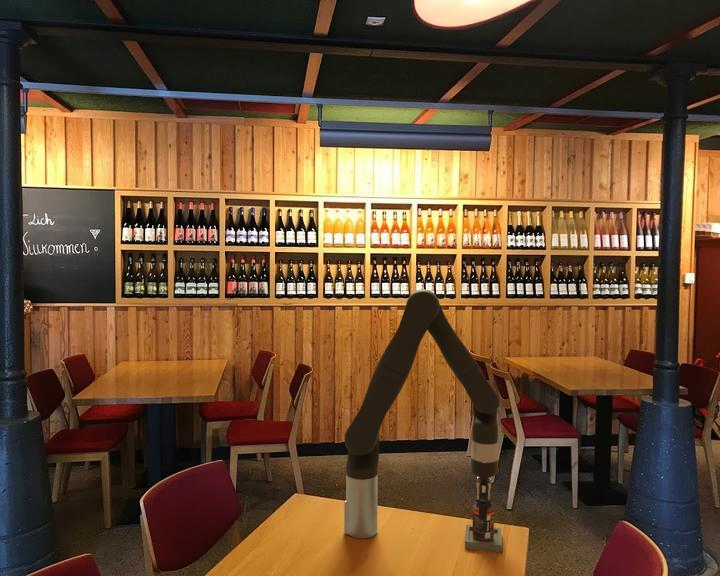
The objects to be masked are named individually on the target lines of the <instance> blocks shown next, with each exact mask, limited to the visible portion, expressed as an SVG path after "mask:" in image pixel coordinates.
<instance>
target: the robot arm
mask: <svg viewBox="0 0 720 576" xmlns="http://www.w3.org/2000/svg"><path fill="white" fill-rule="evenodd" d="M427 331H428V333H429V335H430V336H431V337H432V340H434V342H435V343H436V345H437V347H438V349H439V351H440V352H441V355H442V357H443V358H444V360H445V362H446V364H447V365H448V367H449V369H450V370H451V371H452V373H453V374H454V376H455V377H456V379H457V380H458V382H460V384H461V386H462V387H463V388H464V390H465V392H466V394H467V396H468V397H469V399H470V401H471V403H472V409H473V410H472V411H473V413H472V414H473V423H472V433H471V435H472V436H471V437H472V438H471V439H472V440H471V446H470V448H471V449H470V472H471V473H472V474H473V475H475V476H476V488H477V489H476V490H477V491H476V492H477V493H476V495H477V496H476V498H477V497H478V498H479V503H478V505H479V519H480V520H487V508H488V499H489V498H490V499H491V488H492V478H493V477H496V476H497V475H498V472H499V443H498V442H499V439H498V438H499V436H498V435H499V427H498V421H497V419H498V417H497V416H498V409H499V407H500V403H501V401H500V400H501V399H500V396H499V394H498V391H497V389H496V388H495V387H494V386H493V385H491V383H490V382H489V381H488V380H487V378H486V377H485V375H484V374H483V371H482V369H481V367H480V366H479V364H478V363H477V361H476V359H475V357H473V355H472V354H471V352H470V351H469V349H468V348H467V347H466V346H465V344H464V342H463V341H462V340H461V339H460V337H459V336H458V334H457V333H456V332H455V330H454V328H453V327H452V325H451V324H450V321H449V320H448V319H447V317H446V315H445V312H444V311H443V308H442V306H441V303H440V299H439V298H438V296H437V295H436V294H435V292H433V291H432V290H429V289H424V288H423V289H418V290H416V291H413V293H411V295H410V296H409V297H408V299H407V301H406V304H405V307H404V311H403V314H402V316H401V318H400V321H399V325H398V328H397V330H396V331H395V333H394V335H393V337H392V338H391V340H390V341H389V343H388V345H387V346H386V347H385V349H384V351H383V353H382V354H381V357H380V359H379V361H378V363H377V365H376V367H375V369H374V371H373V373H372V375H371V379H370V382H369V384H368V387H367V390H366V393H365V394H364V399H363V401H362V404H361V405H360V408H359V410H358V411H357V413H356V415H355V417H354V418H353V420H352V421H351V423H350V424H349V425H348V427H347V429H346V430H345V433H344V445H345V447H346V449H347V452H348V453H347V460H346V467H345V468H346V469H345V476H346V477H345V478H346V479H345V481H346V483H345V486H346V487H345V498H346V499H345V501H344V503H343V506H344V507H343V513H344V517H343V518H344V519H343V529H344V531H343V534H344V533H345V534H344V535H347V534H348V535H347V536H349V535H350V537H351V536H352V538H354V539H368V538H369V539H370V538H372V537H374V536H376V534H377V533H378V477H379V476H378V471H379V470H378V467H379V461H380V460H379V457H380V452H379V451H380V429H381V427H382V425H383V422H384V420H385V417H386V415H387V413H388V412H389V410H390V409H391V407H392V405H394V402H395V401H396V399H397V398H398V396H399V395H400V393H401V391H402V389H403V387H404V385H405V383H406V381H407V379H408V377H409V375H410V373H411V370H412V368H413V364H414V362H415V360H416V357H417V353H418V350H419V346H420V344H421V342H422V340H423V338H424V336H425V334H426V333H427ZM481 499H486V502H481Z"/></svg>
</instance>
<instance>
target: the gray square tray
mask: <svg viewBox="0 0 720 576" xmlns="http://www.w3.org/2000/svg"><path fill="white" fill-rule="evenodd" d="M472 528H473V524H465V534H464V549H470V550H478V551H485V552H492V551H495V552H494V553H501V552H502V553H503V540H502V528H500V527H494V537H493V539H492V540H490V541H479V540H477V539H475V538H474V537H473V533H472ZM496 551H497V552H496Z"/></svg>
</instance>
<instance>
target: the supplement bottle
mask: <svg viewBox="0 0 720 576" xmlns="http://www.w3.org/2000/svg"><path fill="white" fill-rule="evenodd" d="M491 500H492V499H491V497H490V498H489V499H488V508H487V520H480V519H479V505H478V503H479V498H478V497H477V496H476V501H475V503H474V504H473V505H472V525H473V528H472V533H473V537H474V538H475V539H477V540H479V541H490V540H492V539H493V537H494V528H495V507H494V506H493V505H492V501H491ZM481 502H486V499H481Z"/></svg>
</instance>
